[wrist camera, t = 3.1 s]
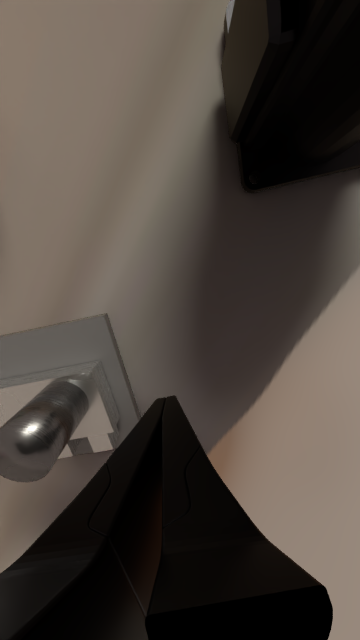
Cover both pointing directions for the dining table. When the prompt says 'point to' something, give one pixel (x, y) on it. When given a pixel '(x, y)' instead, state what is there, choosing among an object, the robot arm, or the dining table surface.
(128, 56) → the dining table surface
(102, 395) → the rack
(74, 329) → the rail base
